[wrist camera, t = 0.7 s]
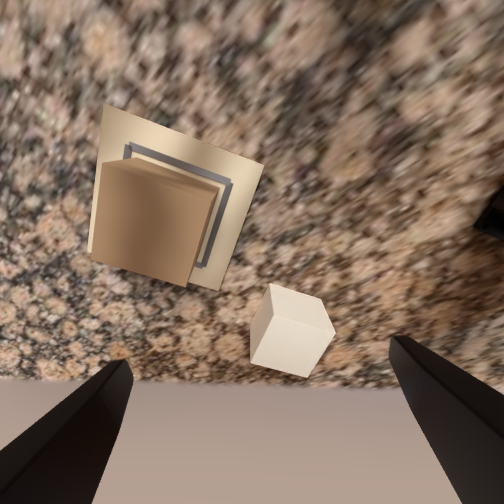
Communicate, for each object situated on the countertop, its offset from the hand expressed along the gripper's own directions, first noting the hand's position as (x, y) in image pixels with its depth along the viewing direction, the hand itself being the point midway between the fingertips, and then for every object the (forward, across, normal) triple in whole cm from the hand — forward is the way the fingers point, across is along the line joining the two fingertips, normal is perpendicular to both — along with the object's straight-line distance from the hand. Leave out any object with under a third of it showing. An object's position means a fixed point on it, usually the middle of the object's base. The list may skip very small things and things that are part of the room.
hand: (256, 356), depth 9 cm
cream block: (+13, -2, +8) cm, 15 cm away
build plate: (+13, +6, -2) cm, 14 cm away
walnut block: (+12, +6, -2) cm, 14 cm away
